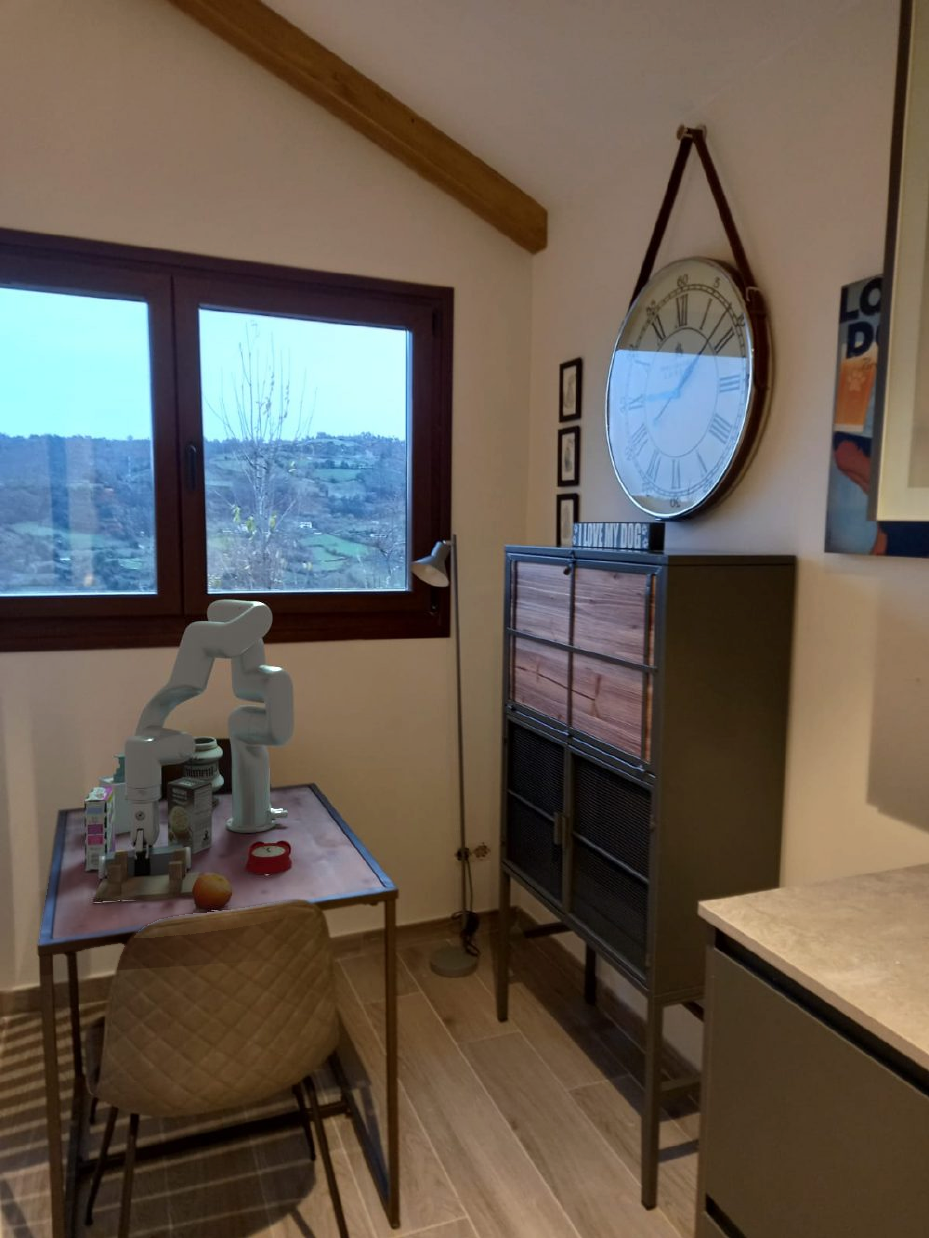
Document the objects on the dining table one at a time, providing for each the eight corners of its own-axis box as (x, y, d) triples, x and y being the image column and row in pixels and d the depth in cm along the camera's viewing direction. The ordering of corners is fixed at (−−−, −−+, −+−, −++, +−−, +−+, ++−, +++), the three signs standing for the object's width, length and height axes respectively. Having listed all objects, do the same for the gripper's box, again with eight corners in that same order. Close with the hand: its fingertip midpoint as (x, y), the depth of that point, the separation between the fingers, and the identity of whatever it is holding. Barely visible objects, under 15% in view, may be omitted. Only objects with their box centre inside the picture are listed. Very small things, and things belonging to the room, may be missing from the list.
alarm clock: (242, 863, 189) (248, 826, 203) (243, 887, 191) (249, 848, 205) (290, 861, 191) (293, 824, 205) (290, 884, 193) (293, 846, 207)
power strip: (189, 864, 197) (189, 840, 196) (190, 872, 192) (190, 847, 192) (100, 874, 190) (99, 850, 190) (99, 882, 186) (98, 857, 185)
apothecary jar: (181, 811, 233) (180, 746, 232) (176, 798, 244) (175, 736, 243) (227, 806, 238) (226, 742, 237) (220, 793, 249) (219, 733, 248)
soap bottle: (148, 827, 221) (146, 754, 219) (114, 835, 214) (112, 760, 212) (132, 819, 227) (131, 748, 225) (99, 826, 220) (97, 754, 218)
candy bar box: (108, 871, 192) (106, 799, 190) (84, 872, 191) (82, 801, 189) (117, 852, 203) (115, 785, 201) (94, 854, 202) (92, 786, 200)
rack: (199, 877, 189) (199, 846, 188) (195, 896, 179) (194, 863, 179) (103, 884, 185) (102, 851, 184) (93, 903, 175) (92, 869, 174)
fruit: (187, 893, 178) (207, 861, 177) (221, 911, 179) (241, 879, 178) (178, 910, 170) (198, 876, 169) (213, 929, 171) (234, 895, 170)
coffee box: (166, 847, 207) (165, 782, 205) (186, 839, 213) (185, 776, 211) (194, 854, 203) (193, 788, 201) (213, 845, 208) (213, 781, 207)
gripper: (155, 802, 182) (156, 885, 183) (166, 780, 198) (167, 856, 200) (118, 804, 180) (119, 887, 182) (131, 781, 197) (133, 858, 198)
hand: (144, 870), depth 191 cm, fingers closed on power strip, 5 cm apart
